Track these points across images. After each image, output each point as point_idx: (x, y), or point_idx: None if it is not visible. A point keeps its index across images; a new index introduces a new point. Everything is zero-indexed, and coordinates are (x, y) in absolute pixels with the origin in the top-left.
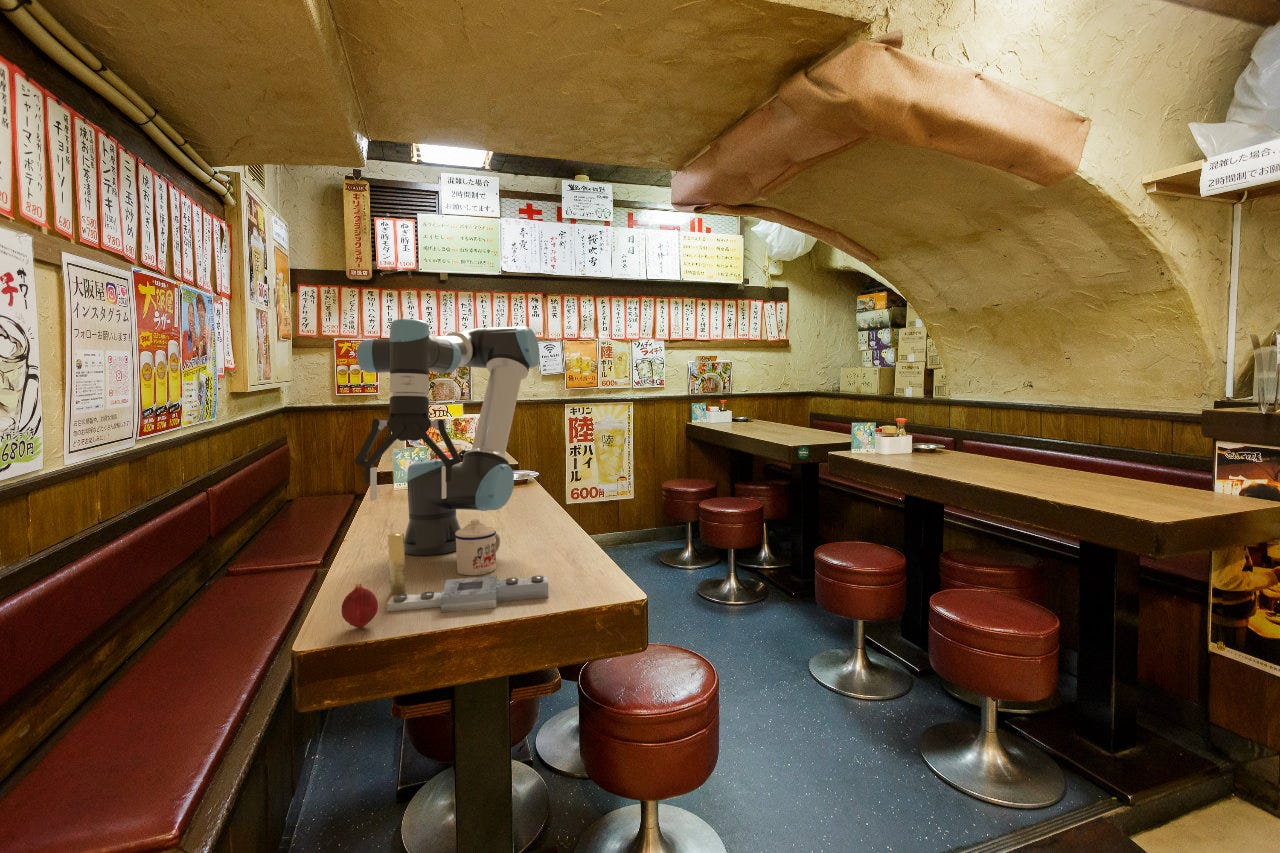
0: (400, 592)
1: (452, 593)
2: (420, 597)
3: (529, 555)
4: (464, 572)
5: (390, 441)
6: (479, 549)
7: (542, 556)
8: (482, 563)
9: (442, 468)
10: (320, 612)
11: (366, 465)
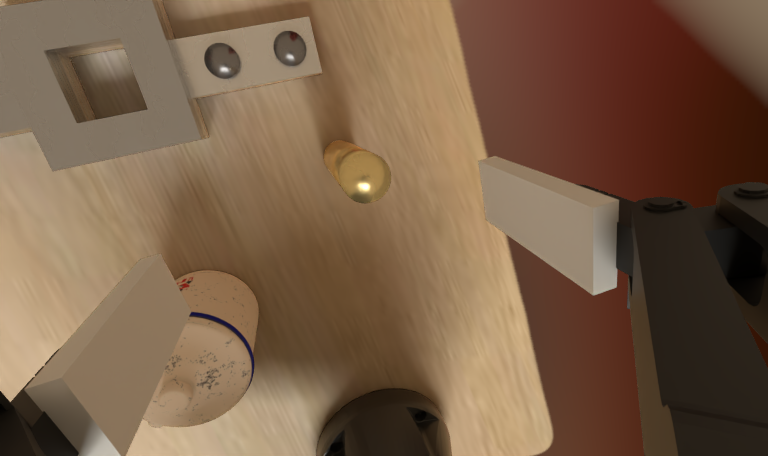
0: (329, 144)
1: (122, 12)
2: (241, 58)
3: None
4: (222, 273)
5: (700, 410)
6: None
7: None
8: None
9: (61, 371)
10: (455, 32)
11: (662, 199)
